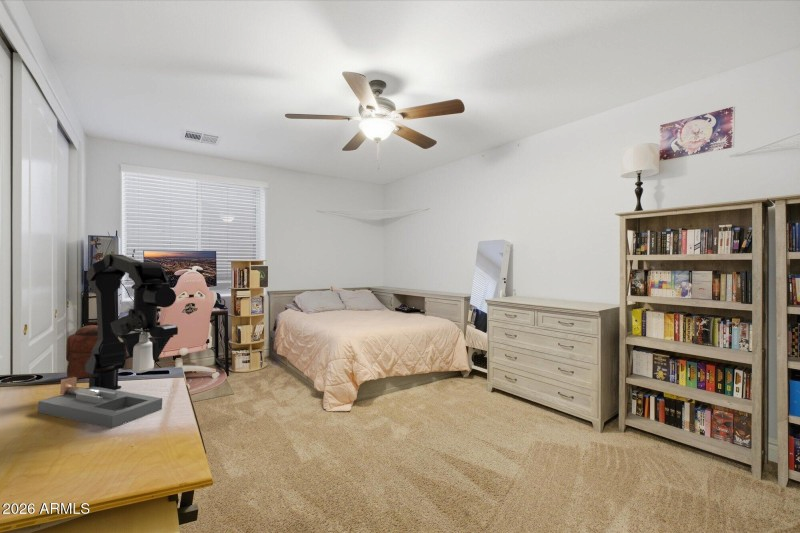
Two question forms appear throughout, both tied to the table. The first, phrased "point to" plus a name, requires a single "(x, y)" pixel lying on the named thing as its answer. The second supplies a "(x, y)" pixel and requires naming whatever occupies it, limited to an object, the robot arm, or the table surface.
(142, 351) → the eye dropper bottle
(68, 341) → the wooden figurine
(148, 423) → the table surface
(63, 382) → the lock pin
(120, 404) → the dock block
